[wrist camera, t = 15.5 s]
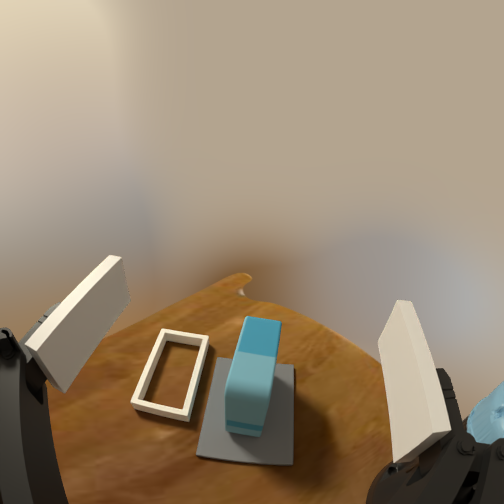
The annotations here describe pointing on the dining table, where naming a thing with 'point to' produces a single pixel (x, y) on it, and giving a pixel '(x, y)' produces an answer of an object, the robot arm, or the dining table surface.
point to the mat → (244, 446)
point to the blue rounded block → (251, 376)
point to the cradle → (151, 365)
